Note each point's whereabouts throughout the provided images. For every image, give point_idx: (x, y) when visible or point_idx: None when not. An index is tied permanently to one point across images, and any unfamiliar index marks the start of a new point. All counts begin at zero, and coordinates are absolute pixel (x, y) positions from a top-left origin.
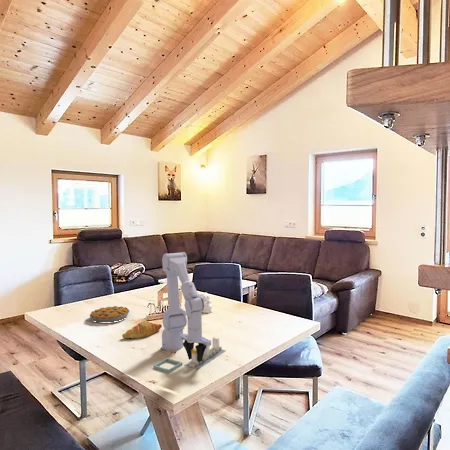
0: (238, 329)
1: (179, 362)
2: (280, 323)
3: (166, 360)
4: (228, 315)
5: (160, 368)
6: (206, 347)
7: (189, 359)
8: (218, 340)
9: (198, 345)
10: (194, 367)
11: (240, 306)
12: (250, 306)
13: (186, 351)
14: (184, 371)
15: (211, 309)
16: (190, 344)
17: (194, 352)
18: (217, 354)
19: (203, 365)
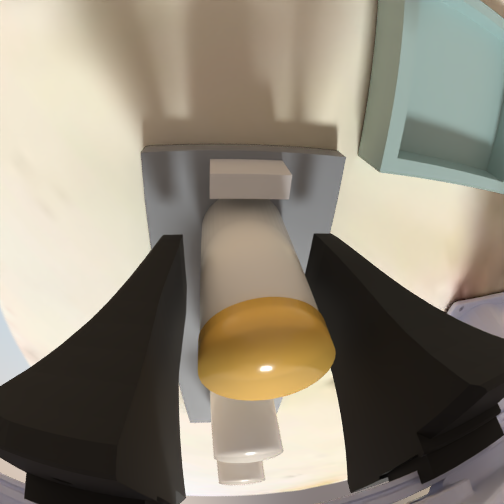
0: (269, 469)
1: (405, 158)
2: (190, 489)
3: (498, 168)
4: (334, 471)
5: (485, 6)
6: (223, 429)
7: (320, 233)
8: (218, 472)
9: (100, 490)
10: (208, 169)
11: (323, 483)
12: (302, 488)
13: (404, 288)
14: (283, 73)
15: None
16: (386, 424)
17: (237, 320)
18: (198, 393)
19: None
